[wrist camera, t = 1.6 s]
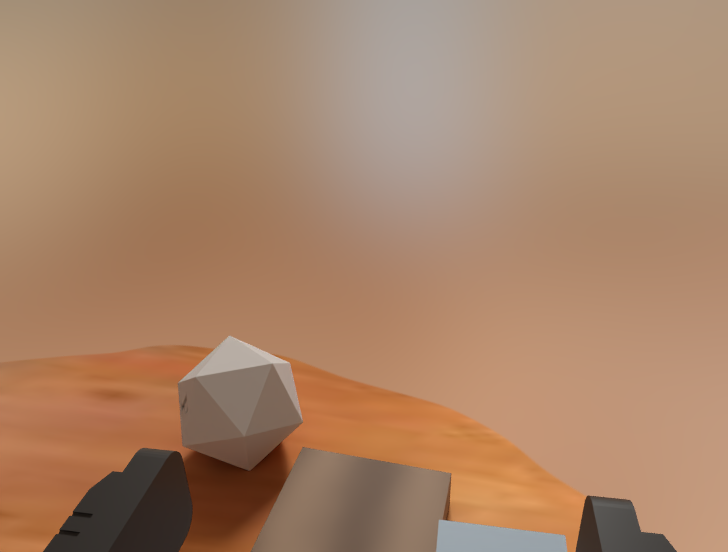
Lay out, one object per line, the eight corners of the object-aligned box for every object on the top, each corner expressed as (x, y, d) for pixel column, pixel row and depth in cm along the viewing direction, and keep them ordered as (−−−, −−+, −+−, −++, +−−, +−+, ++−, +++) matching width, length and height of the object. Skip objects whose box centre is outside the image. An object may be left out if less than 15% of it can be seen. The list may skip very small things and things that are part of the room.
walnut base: (244, 612, 34) (238, 576, 32) (305, 479, 42) (302, 447, 41) (422, 657, 31) (423, 621, 30) (449, 506, 40) (451, 473, 39)
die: (225, 402, 50) (142, 355, 43) (312, 355, 49) (241, 299, 42) (237, 496, 45) (145, 462, 38) (336, 448, 44) (258, 402, 36)
